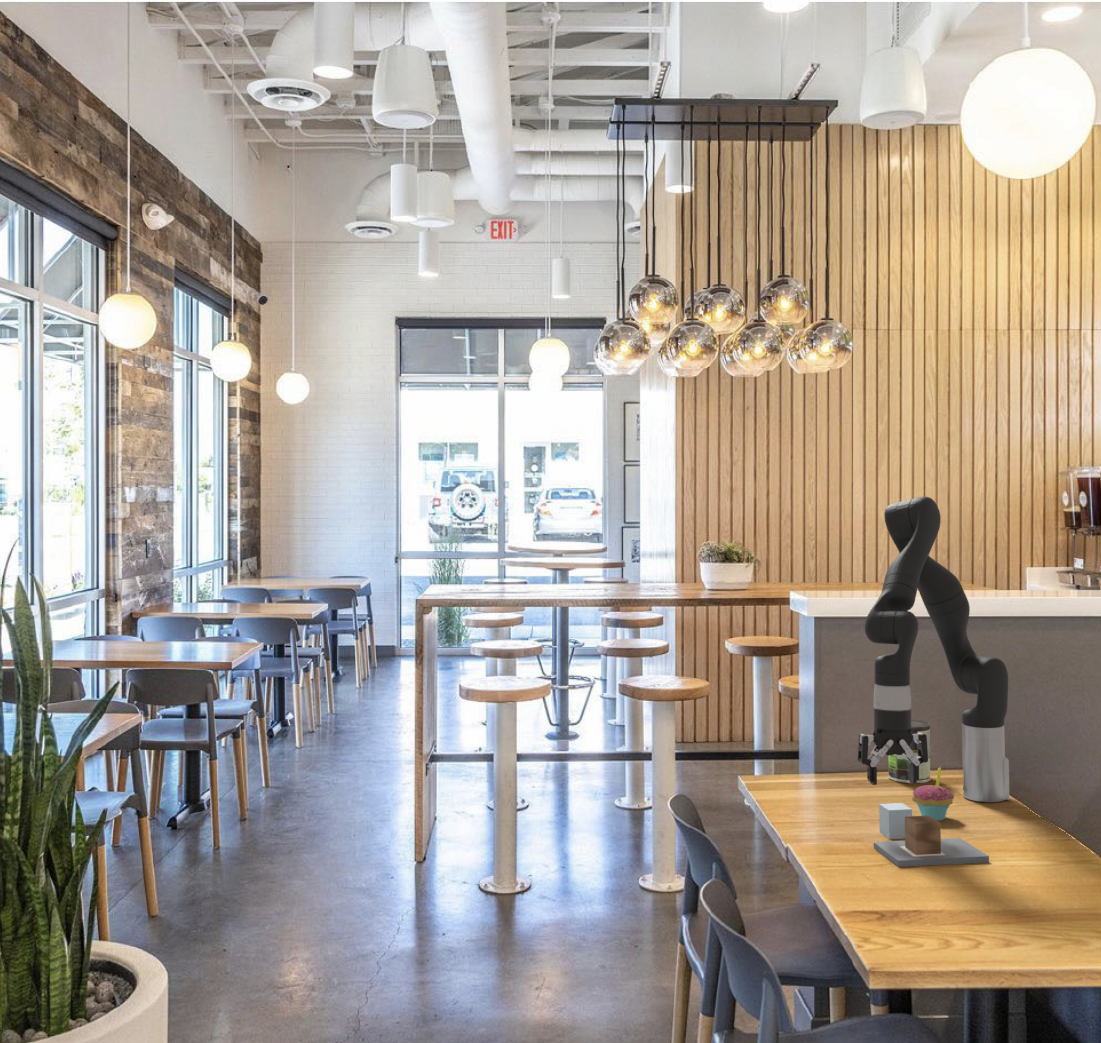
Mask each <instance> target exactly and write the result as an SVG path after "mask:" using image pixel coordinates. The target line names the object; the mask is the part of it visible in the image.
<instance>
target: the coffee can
mask: <svg viewBox="0 0 1101 1043" xmlns="http://www.w3.org/2000/svg"><path fill="white" fill-rule="evenodd" d="M930 728H931V723H930V722H928V721H924V720H920V719H919V720H918V719H911V733H912V734H917V732H921V733H923V734H925V735H926V736H927V748H928V762H926V763H925V762H924V763H921V764H920V765H919V780H918V781H917V783H916V784H925V783H929V782H930V781H931V778H932V777H931V743H930V742H931V731H930ZM909 747H910V749H911V750H912V751H913V753H914V754H915V756H916V757H917V756H918V752H917V743H915V741H914V739H913V741H912V742H911V744H910V745H909ZM909 764H911V763H910V761H909V760H908V759H907V757H906V756H905V755H904V754H902V755H896V754H894V755H888V779H889V780H891V781H893V782H894V781H895V782H897V783H904V784H905V783H906V784H912V783H911V782H910V781H909Z"/></svg>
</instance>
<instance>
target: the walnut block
mask: <svg viewBox="0 0 1101 1043" xmlns="http://www.w3.org/2000/svg"><path fill="white" fill-rule="evenodd" d="M941 834H942V833H941V821H940V820H939V821H937V820H935V819H934V818H932V817H931V816H921V815H914V816H913V815H912V816H909V817H905V838H904V841H905V847H906V848H907V849H909V850H910V851H911V852H913V853H914V854H916V855H922V854H941V839H942V836H941Z"/></svg>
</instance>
